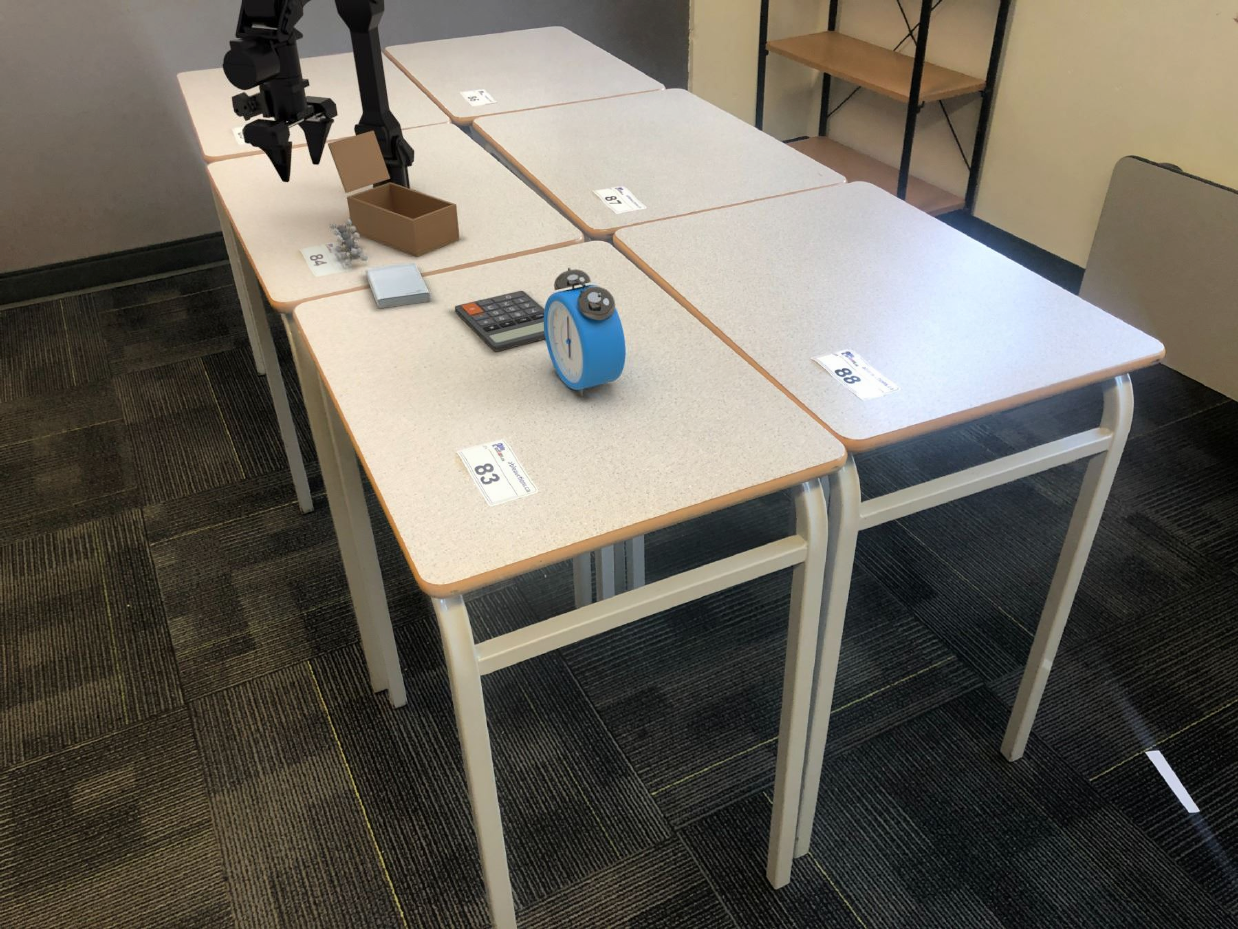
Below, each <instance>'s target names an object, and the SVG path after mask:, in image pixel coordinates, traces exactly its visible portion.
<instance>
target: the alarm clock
mask: <svg viewBox="0 0 1238 929" xmlns="http://www.w3.org/2000/svg"><path fill="white" fill-rule="evenodd" d="M589 283H592V280H591V277H590V276H589V274H588V273H587V272H585V271H584V270H581V269H577V268H574V269H571V267H568V268H567V270H565V271H562V272H561V273H559V275H558V276H557V277H556V278H555V280H554V283H553V288H554V291H556V292H553V293H551V294H550V295H549V296H548V298H547V299H546V302H545V305H544V333H545V339H544V340H545V344H546V348H547V351H548V355H549V358H550V360H551V363H552V365H553V368H554V370H555V372H556V373H557V375H558V377H559V378H560V380H561V381H562V382H563V383H564V384H565V385H566V386H567V387H568V388H570V389H572V390H574V391H578V392H579V395H580V397H584V390H585V389H589V388H593V387H596V386H600V385H603V384H607V383H611V382H615V381H616V380H618V379H619V378H620V376H622V373H623V370H624V368H625V363H626V355H627V354H626V350H627V349H626V348H627V347H626V339H625V338H626V337H625V333H624V329H623V325H622V320H621V317H620V315H619V312H618V310H617V308H616V301H615V298H614V295H613V294H612V293H611V292H610V291H609V290H608V289H606V288H604V287H602V286H599V285H597V284H589ZM577 286H578V287H577ZM567 288H569V289H567ZM564 289H565V290H564ZM559 290H560V291H559Z"/></svg>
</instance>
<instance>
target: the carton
mask: <svg viewBox="0 0 1238 929" xmlns="http://www.w3.org/2000/svg"><path fill="white" fill-rule="evenodd" d="M412 189H413V188H410V189H409V188H406V187H403V186H400V185H397V184H394V183H391V182H390V183H387V184H384V185H381V186H378V187H375V188H373V187H371V188H368V189H366V190H363V191H360V192H356V193H354V194H351V195H349V196H346V202H347V207H348V215H349V220H351V221H352V225H351V226H354V227H355V228H356V231H355V232H353V234H354V233H356V232H357V233H359V234H360V236H362V237H365V238H367V239H369V240H372V241H375V242H378V243H381V244H383V245H386V246H388V247H391V248H394V249H395V250H399V251H401V252H403V253H407V254H408V255H412V256H414V257H417V258H418V257H421V256H423V255H426V254H428V253H430V252H433V251H434V250H437V249H439V248H443V247H445V246H447V245H450V244H452V243H455V242H457V241H459V240H460V239H461V238H460V230H459V219H458V206H457V203H454V202H450V201H447V200H445V199H441V198H438V197H436V196H433V195H430V194H427V193H424V192H422V191H421V192H420V191H418V190H415V189H413V190H412ZM351 226H350V227H351Z"/></svg>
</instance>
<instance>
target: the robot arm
mask: <svg viewBox="0 0 1238 929" xmlns="http://www.w3.org/2000/svg"><path fill="white" fill-rule="evenodd" d="M311 1H312V0H241V3H240V9H239V13H238V18H237V19H238V20H237V22H236V23H237V24H236V29H235V34H234V36H235V38H234V39H230V40H229V42H228V44H229V48H230V49H229V50H228V51H227V52H225V54H224V57H223V59H222V70H223V73H224V75H225V78H226V79H227V80H228V82H229V83H230V84H231V85H232V86H233V87H235V88H237V90H241V91H242V92H241V93H237V94H234V95H233V96H231V104H232V108H233V109H232V110H233V112H234V114H236V116H237V117H239V118H243V119H244V121H245V122H247V121H250V120H251V119H252V118H255V117H257V116H261V115H262V118H256V119H254V120H252V121H250V122H248V123H246V124H245V125H244V126H243V127H242V129H241V132H242V137H243V142H244V144H249V145H251V146H252V147H253V148H258V149H259V150H261V151H263V153H264V154H265V155H266V156H267V158H268V159H269V161H270V162H271V164H272V166H273V167H274V169H275V171H276V173H277V174H278V176H279V178H280V180H281V182H283V183H289V182H290V179H291V172H292V171H291V169H292V155H293V154H292V153H293V141H291V140H290V137H291V132H290V129H291V128H293V127H295V126H296V125H298V127H299V128H300V129H301V130H302V131H303V134H304V138H305V141H306V146H307V150H308V154H309V157H310V161H311V163H312V165H314V166H318V165H320V163H321V160H322V157H323V153H324V149H325V146H326V143H327V140H328V137H329V134H330V131H331V128H332V126H333V124H334V123H335V117H337V116H339V114H338V108H337V104H336V102H335V101H334V100H333V99H332V98H331V97H322V96H314V95H313V96H312V95H307V94H306V88H309V87H310V80H309V79H308V78H304V77H303V72H302V67H301V61H300V56H299V55H300V54H299V49H298V44H297V41H298V40H299V41H300V40H301V39H303V38H304V34H303V33H302V32H301V31H300V30H298V29H297V28H295V26H296V25H297V24H298V23H299V22H300V21H301V19H302V18H303V17H304V8H305V6H307V4H309V3H310V2H311ZM333 1H334V5H335V9H336V12H337V14H338V16H339V17H340V18H341V20H342V21H343V23H344V24H345V25H346V27H347V28H348V30H349V35H350V42H351V47H352V54H353V61H354V67H355V74H356V80H357V85H358V91H359V92H358V93H359V98H360V104H361V105H360V106H361V110H362V112H361V113H362V114H361V115H360V118H359V120H358V123H356V124H354V127H353V131H354V136H356V135H360V134H363V133H367V132H370V131H374V133H375V136H376V139H377V142H378V145H379V148H380V151H381V153H382V156H383V159H384V162H385V165H386V168H387V171H388V174H389V177H390V179H387V180H384V181H381V182H378V183H375V184H372V188H375V187H378V186H381V185H384V184H387V183H390V182H391V183H394V184H397V185H400V186H403V187H406V188H409V189H412V190H414V189H413V188H411V185H410V184H411V183H410V177H409V176H410V175H409V168H410V167H412V166H413V163H414V162H415V149H414V148H413V147H412V146H411V144H410V143H409V142H408V141H407V140H406V139H405V138H404V134H403V130H402V126H401V122H399V121H398V119H397V118H396V117H395V115H394V113H393V112H392V110H391V109H390V103H389V97H388V96H389V95H388V89H387V82H386V74H385V68H384V61H383V55H382V47H381V40H380V39H381V38H380V33H379V25H380V22H381V20H382V18H383V16H384V13H385V0H333ZM256 87H258V89H259V92H256V93H254V94H251V95H248V94H247V93H246V92H245V91H249V90H251V89H254V88H256ZM271 118H273V119H271ZM408 167H409V168H408Z"/></svg>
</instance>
